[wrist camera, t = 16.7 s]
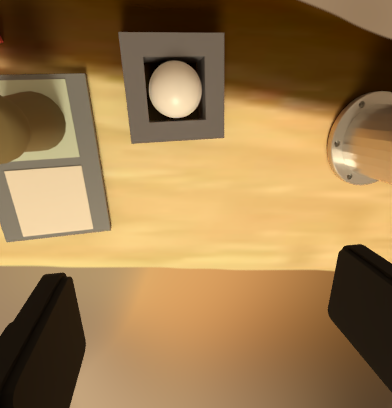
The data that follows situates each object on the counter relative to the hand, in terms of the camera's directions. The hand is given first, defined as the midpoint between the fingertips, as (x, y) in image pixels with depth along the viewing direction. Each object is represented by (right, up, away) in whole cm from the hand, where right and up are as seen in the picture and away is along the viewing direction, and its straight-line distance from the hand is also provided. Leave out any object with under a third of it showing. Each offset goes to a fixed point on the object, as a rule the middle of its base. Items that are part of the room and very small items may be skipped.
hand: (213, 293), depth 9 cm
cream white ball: (-3, +16, +21) cm, 26 cm away
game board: (-18, +8, +21) cm, 29 cm away
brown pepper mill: (-18, +12, +19) cm, 28 cm away
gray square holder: (-3, +16, +21) cm, 27 cm away
